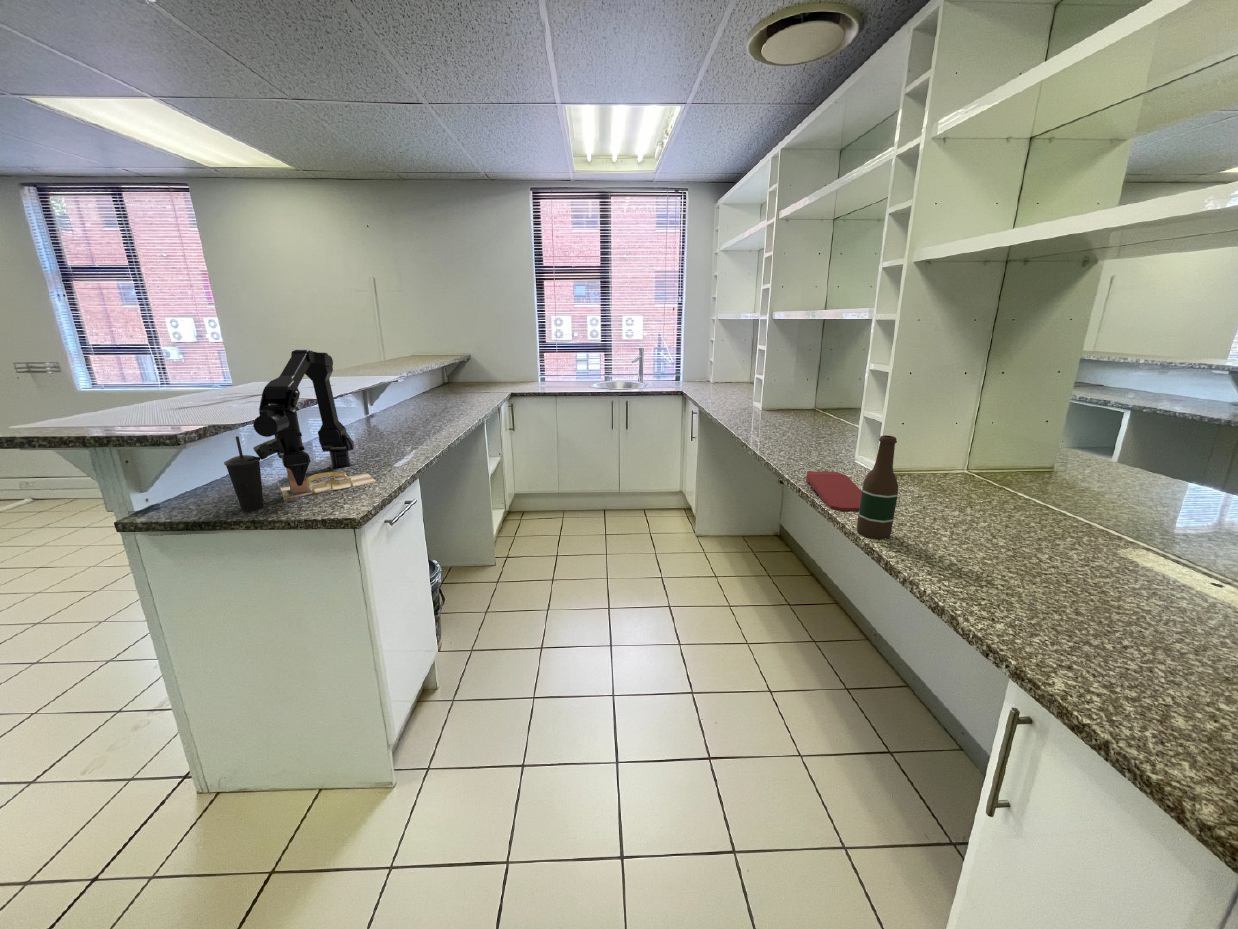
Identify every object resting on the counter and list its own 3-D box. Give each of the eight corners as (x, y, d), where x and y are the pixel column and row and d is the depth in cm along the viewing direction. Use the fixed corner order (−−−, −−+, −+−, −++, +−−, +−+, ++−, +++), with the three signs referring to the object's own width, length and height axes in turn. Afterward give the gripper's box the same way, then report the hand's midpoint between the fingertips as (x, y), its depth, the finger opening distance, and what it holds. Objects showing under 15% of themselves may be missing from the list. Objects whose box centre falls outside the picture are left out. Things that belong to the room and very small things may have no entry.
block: (290, 490, 141) (286, 467, 139) (306, 487, 143) (302, 465, 141) (292, 493, 138) (287, 470, 136) (308, 490, 140) (304, 468, 138)
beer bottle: (897, 540, 112) (915, 440, 105) (863, 540, 112) (879, 440, 106) (881, 527, 119) (897, 433, 113) (849, 526, 120) (863, 432, 113)
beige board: (280, 491, 144) (279, 487, 144) (368, 476, 159) (367, 472, 158) (285, 502, 135) (284, 497, 135) (377, 485, 150) (377, 481, 149)
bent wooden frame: (306, 483, 148) (304, 475, 147) (345, 477, 154) (343, 469, 154) (312, 493, 139) (311, 485, 138) (353, 486, 145) (352, 478, 145)
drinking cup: (241, 505, 132) (225, 434, 127) (273, 502, 135) (259, 432, 129) (230, 515, 125) (212, 440, 120) (265, 511, 128) (249, 438, 122)
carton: (873, 523, 132) (837, 482, 155) (877, 507, 130) (840, 468, 153) (829, 523, 132) (799, 482, 155) (833, 507, 130) (801, 468, 153)
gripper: (249, 427, 137) (260, 479, 142) (254, 438, 124) (267, 496, 128) (295, 422, 144) (305, 472, 148) (305, 433, 130) (315, 487, 135)
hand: (297, 481), depth 140 cm, fingers open, 9 cm apart
